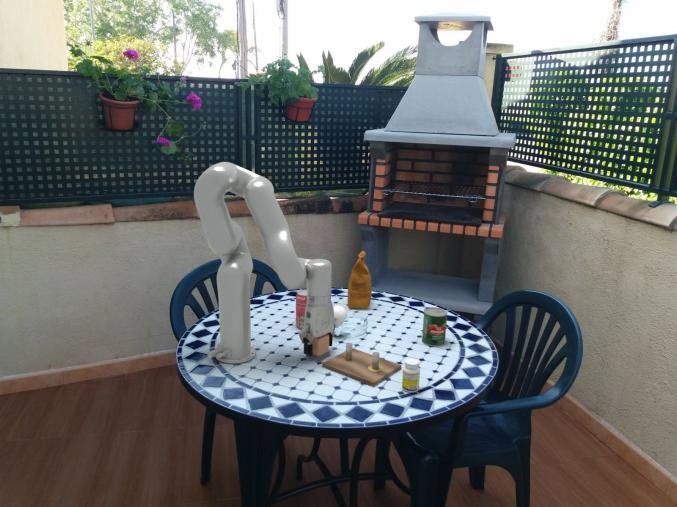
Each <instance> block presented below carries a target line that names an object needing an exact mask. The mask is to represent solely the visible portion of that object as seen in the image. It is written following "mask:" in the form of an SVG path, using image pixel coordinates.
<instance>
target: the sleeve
mask: <svg viewBox="0 0 677 507" xmlns="http://www.w3.org/2000/svg"><path fill="white" fill-rule="evenodd" d="M307 339H308V340H309V339H310V336H308V338H307ZM311 344H313V355H312V356H308V355H305V356H306V357H307V358H310V359H312V360H316V361H317V362H319V361H321V360H324V359H326V358H327V357H330V346H329V335H327V334H325V335H323V336H321V337H318V338H314V339H313V341H312V343H311Z"/></svg>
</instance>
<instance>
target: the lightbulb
mask: <svg viewBox="0 0 677 507" xmlns="http://www.w3.org/2000/svg"><path fill="white" fill-rule="evenodd" d="M333 309H334V318H337V322H336V324H335V325H336V327H335V328H338V327H339V326H341V325H342V324H343V325H344V322H345V321H346V320H347V318H348V313H347V312H348V311H347V310H346V308H345V307H343V306H342V305H339V304H338V305H333ZM343 325H342V326H343ZM334 330H335V329H334ZM335 335H336V334H335V331H334V334H333V336H335Z"/></svg>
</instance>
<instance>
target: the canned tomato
mask: <svg viewBox="0 0 677 507" xmlns="http://www.w3.org/2000/svg"><path fill="white" fill-rule="evenodd" d="M447 320H448V311H446V310H445V309H443V308H439V307H438V308H437V307H428V308H425V309H423V320H422V321H423V323H422V335H421V342H422V344H424V345H426V346H429V347H434V346H437V347H442V346H444V345H445V344H446V332H447Z"/></svg>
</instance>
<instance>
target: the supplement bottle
mask: <svg viewBox="0 0 677 507" xmlns="http://www.w3.org/2000/svg"><path fill="white" fill-rule="evenodd" d="M420 376H421V368H420V361H419V360H418V359H416V358H414V357H413V358H412V357H411V358H406V359H405V360H404V366H403V367H402V381H401V385H402V386H401V388H402V390H403V391H404V392H406V393H416V392H418V391H419V390H420V379H421V378H420Z"/></svg>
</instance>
